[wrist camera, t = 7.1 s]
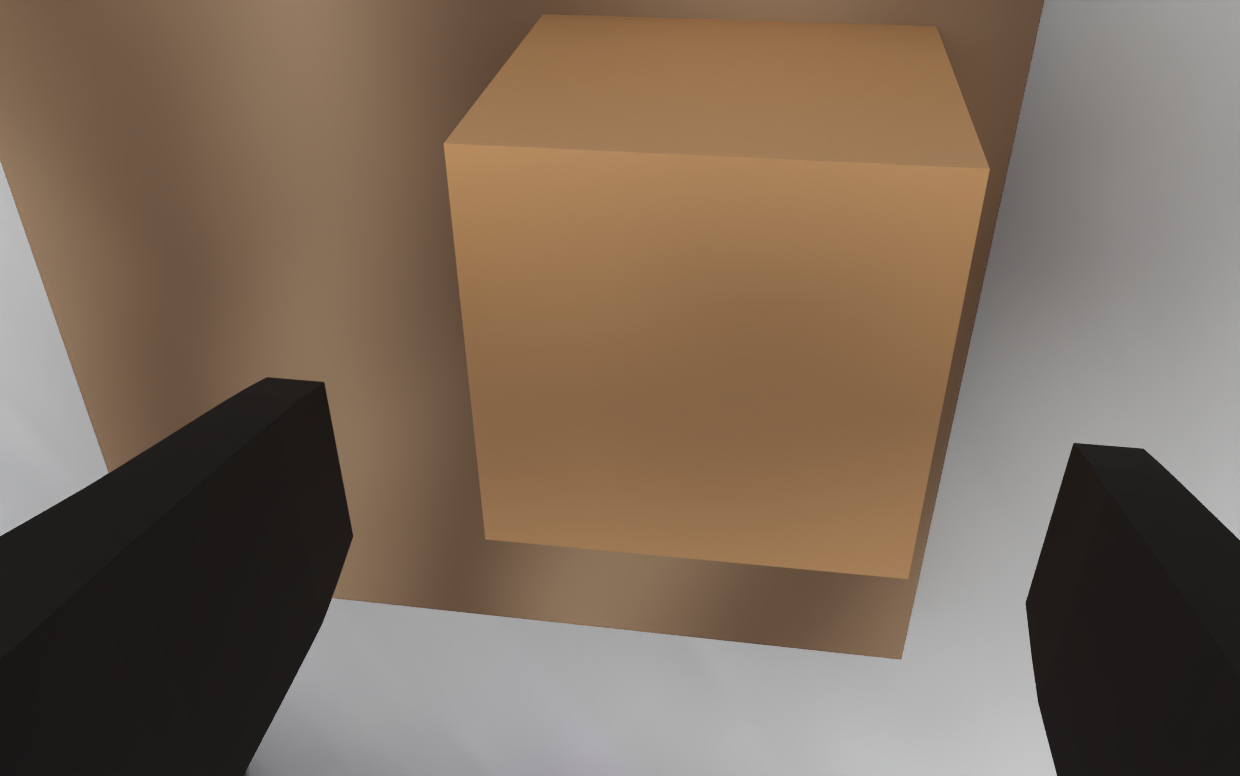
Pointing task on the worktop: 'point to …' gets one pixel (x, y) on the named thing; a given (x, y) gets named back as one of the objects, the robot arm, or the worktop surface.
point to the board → (380, 269)
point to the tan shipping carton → (714, 285)
